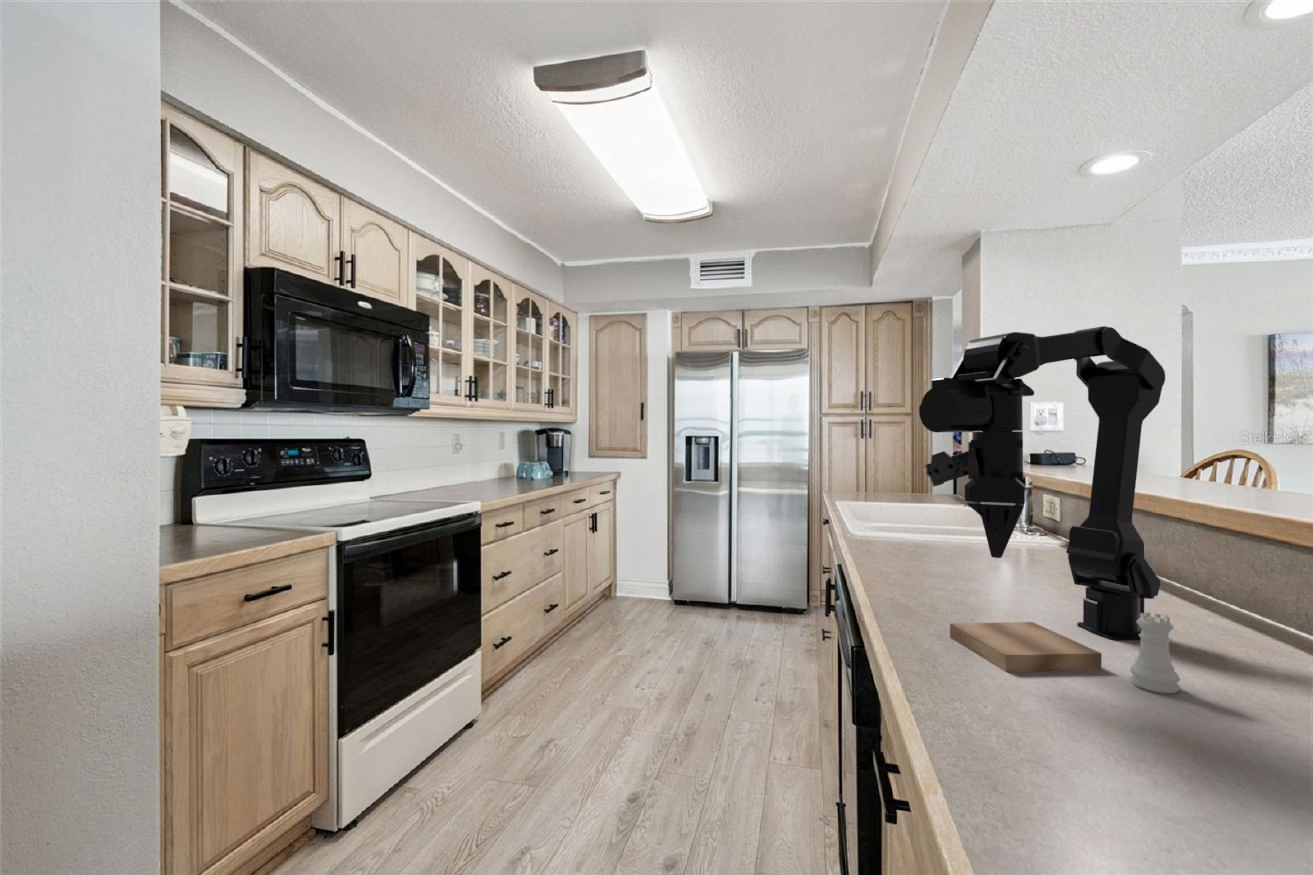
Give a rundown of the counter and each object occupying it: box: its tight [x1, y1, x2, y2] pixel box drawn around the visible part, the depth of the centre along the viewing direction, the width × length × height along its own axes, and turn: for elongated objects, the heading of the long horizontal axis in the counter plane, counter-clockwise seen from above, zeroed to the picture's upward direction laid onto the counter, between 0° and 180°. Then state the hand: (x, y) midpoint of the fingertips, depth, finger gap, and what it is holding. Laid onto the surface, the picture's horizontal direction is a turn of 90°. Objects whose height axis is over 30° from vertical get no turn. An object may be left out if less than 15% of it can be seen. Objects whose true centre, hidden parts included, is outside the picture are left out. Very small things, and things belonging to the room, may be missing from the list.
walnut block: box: [949, 621, 1103, 673], centre depth 77 cm, size 12×12×2 cm
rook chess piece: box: [1129, 612, 1182, 695], centre depth 66 cm, size 4×4×8 cm
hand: (998, 550), depth 77 cm, fingers open, 9 cm apart
